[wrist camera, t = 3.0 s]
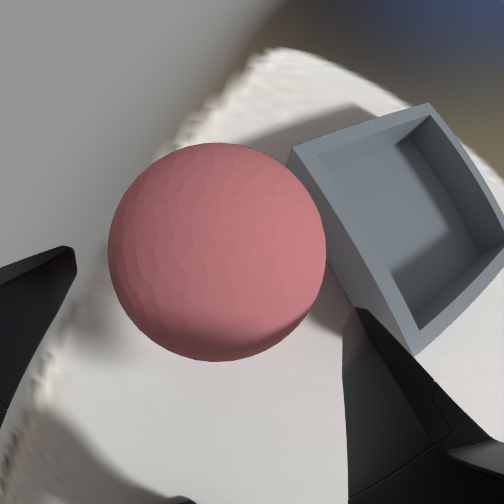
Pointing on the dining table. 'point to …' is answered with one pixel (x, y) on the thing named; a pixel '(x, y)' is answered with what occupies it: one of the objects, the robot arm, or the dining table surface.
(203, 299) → the light bulb
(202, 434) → the dining table surface
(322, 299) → the dining table surface
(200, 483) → the dining table surface
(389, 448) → the robot arm
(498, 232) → the blue-gray bin
